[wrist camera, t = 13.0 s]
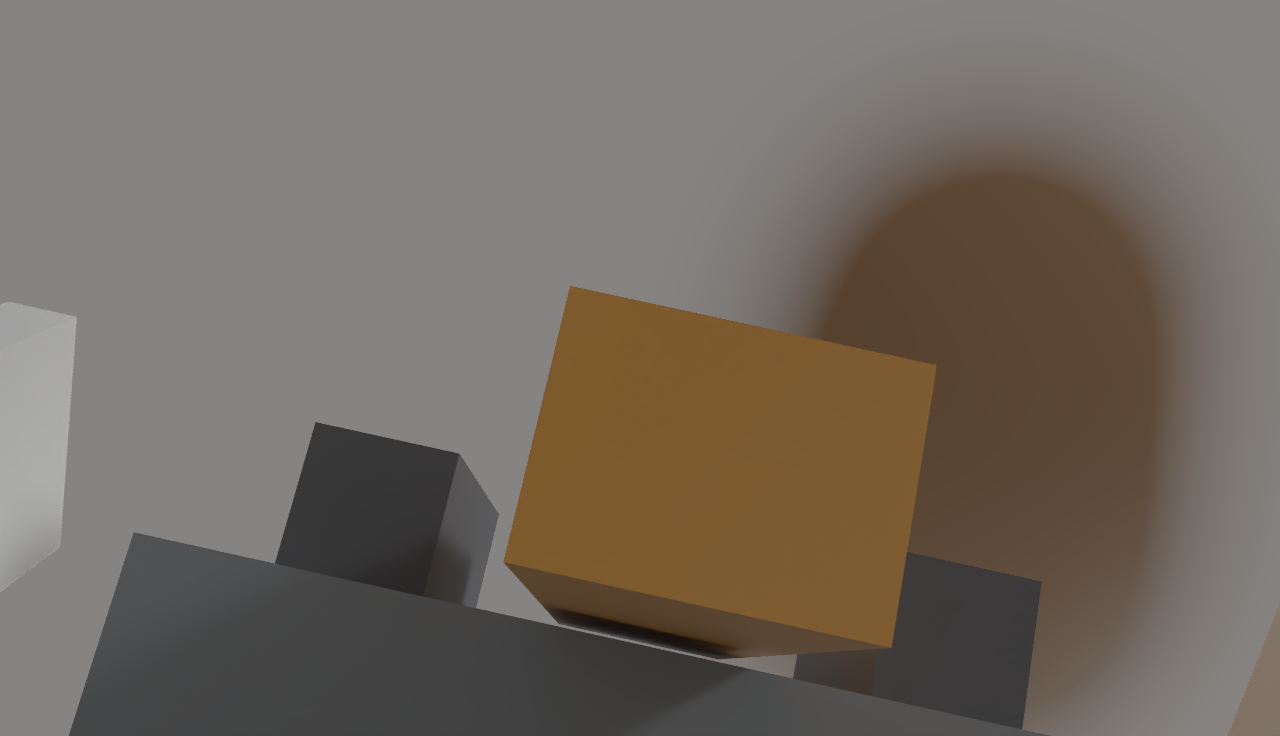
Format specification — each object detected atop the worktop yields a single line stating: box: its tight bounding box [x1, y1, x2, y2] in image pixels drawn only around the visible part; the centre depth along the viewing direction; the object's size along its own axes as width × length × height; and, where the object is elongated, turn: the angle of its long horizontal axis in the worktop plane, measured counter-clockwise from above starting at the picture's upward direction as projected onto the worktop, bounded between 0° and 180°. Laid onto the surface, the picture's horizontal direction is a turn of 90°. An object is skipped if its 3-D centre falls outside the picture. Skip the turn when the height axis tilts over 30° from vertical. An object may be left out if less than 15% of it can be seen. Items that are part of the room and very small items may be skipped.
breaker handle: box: [504, 286, 937, 659], centre depth 21 cm, size 4×18×3 cm, turn 2°
